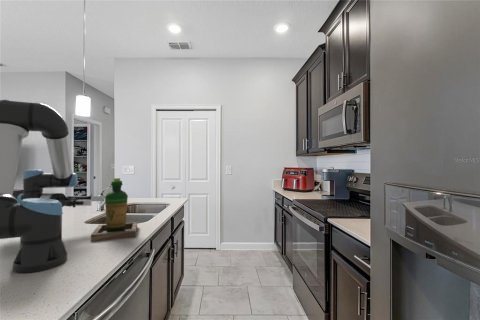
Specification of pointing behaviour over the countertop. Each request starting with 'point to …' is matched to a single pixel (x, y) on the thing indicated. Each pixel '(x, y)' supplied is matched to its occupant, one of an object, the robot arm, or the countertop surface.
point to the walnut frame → (102, 233)
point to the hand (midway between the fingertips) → (97, 200)
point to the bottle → (116, 207)
